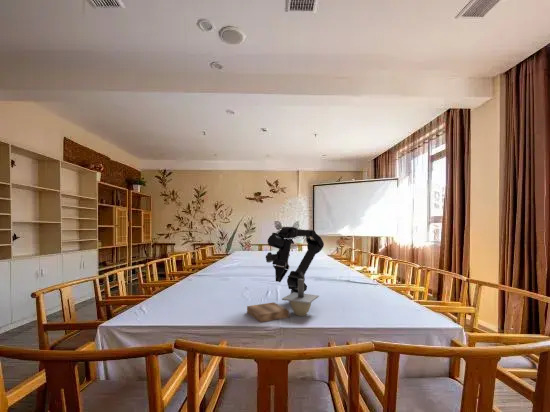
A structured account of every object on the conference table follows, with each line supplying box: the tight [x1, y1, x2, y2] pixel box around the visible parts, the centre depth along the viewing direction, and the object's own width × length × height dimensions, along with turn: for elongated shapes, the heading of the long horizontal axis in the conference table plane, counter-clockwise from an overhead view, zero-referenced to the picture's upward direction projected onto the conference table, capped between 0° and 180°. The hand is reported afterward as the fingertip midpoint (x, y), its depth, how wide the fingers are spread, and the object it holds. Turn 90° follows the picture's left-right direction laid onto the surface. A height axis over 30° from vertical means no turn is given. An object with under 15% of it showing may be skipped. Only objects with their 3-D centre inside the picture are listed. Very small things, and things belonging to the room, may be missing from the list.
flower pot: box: [289, 301, 312, 317], centre depth 132 cm, size 10×10×7 cm
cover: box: [281, 279, 320, 304], centre depth 132 cm, size 13×13×9 cm
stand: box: [246, 302, 290, 323], centre depth 130 cm, size 14×14×3 cm
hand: (278, 281), depth 142 cm, fingers open, 9 cm apart
